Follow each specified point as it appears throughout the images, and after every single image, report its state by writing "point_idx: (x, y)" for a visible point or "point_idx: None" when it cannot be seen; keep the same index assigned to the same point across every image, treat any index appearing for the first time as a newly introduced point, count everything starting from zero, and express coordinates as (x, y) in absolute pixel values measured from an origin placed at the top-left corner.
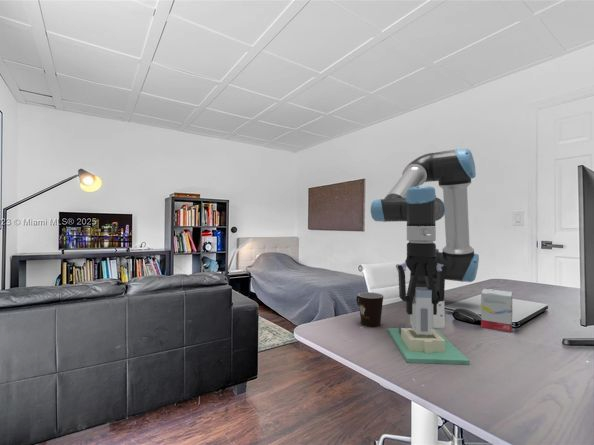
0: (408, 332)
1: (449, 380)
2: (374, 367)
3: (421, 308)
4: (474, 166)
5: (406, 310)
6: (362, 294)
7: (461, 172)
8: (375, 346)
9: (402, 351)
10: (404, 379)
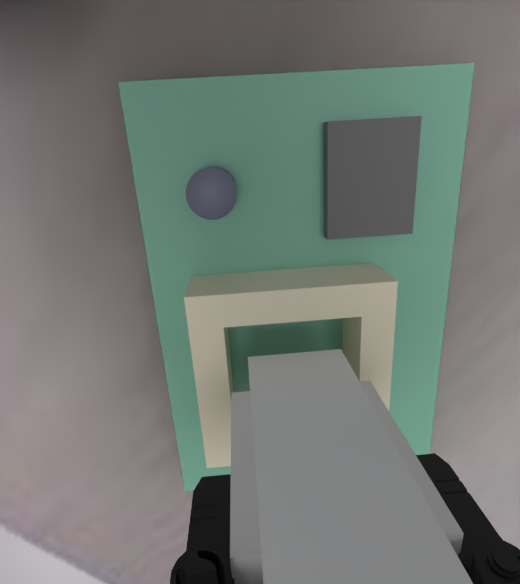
0: (219, 371)
1: None
2: (60, 527)
3: None
4: None
5: (193, 494)
6: None
7: None
8: (51, 352)
9: (175, 432)
10: (160, 573)
